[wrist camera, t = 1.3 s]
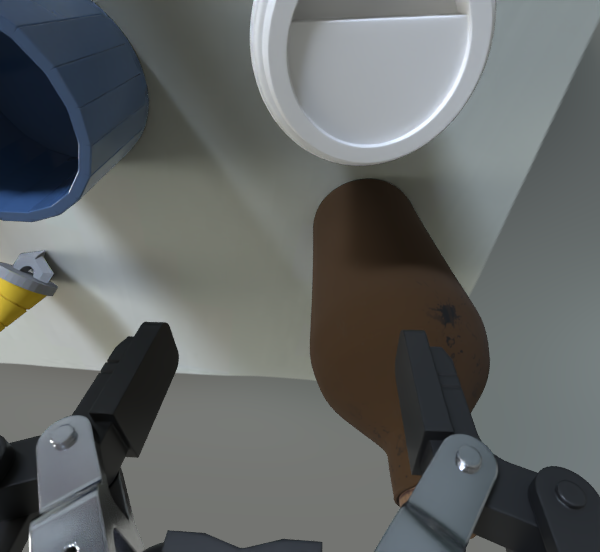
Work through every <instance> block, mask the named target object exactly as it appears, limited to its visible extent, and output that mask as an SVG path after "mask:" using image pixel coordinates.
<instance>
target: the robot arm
mask: <svg viewBox="0 0 600 552" xmlns="http://www.w3.org/2000/svg"><path fill="white" fill-rule="evenodd" d="M178 361H179V354H178V350H177V347H176V344H175V341H174V338H173V335H172V332H171V329H170V327H169V325H168V323H165V322H144V323H143V324H142V325H141V326H140V328H139V329H138V331H137V333H136V334H135V336H134V337H130V336H128V337H127V338H126V339H125V340H124V341H122V342H121V343H120V344H119V345H118V346H117V347H115V349H114V351H113V352H112V354H111V355H110V357H109V358H108V360H107V363H105V365H104V366H103V368H102V369H101V373H99V374H98V376H97V377H96V379H95V380H94V382H93V384H92V385H91V387H90V388H89V390H88V391H87V393H86V394H85V396H84V397H83V399H82V400H81V402H80V404H79V405H78V407H77V408H76V410H75V411H74V413H73V414H72V415H71V416H67V417H65V418H63V419H60V420H58V421H56V422H55V423H53V424H52V425H51V426H50V427H48V428H47V429H46V430H45V432H44V433H43V434H42V435H41V436H36V437H33V438H28V439H24V440H20V441H16V442H12V443H8V442H7V441H6V440H5V438H4V437H2V436H0V552H22V550H23V548H24V546H25V544H26V542H27V540H28V538H29V552H322V542H315V541H302V540H288V539H281V540H277V541H273V542H269V543H264V544H260V545H256V546H252V547H247V548H238V547H236V546H234V545H231V544H229V543H227V542H224V541H222V540H219V539H217V538H215V537H212V536H210V535H208V534H206V533H196V532H183V531H169V530H168V532H167V534H166V538H165V541H164V542H163V543H159V544H157V545H154V546H152V547H149V548H148V549H146V550H145V548H144V545H143V542H142V540H141V537H140V535H139V533H138V531H137V528H136V525H135V522H134V518H133V514H132V510H131V506H130V501H129V497H128V493H127V489H126V485H125V481H124V477H123V473H122V470H121V468H120V467H121V465H122V462H123V460H124V458H125V457H139V455H140V453H141V450H142V448H143V446H144V443H145V441H146V439H147V437H148V434H149V432H150V430H151V427H152V425H153V422H154V420H155V418H156V416H157V413H158V411H159V409H160V406H161V404H162V402H163V400H164V397H165V395H166V393H167V390H168V388H169V386H170V383H171V381H172V379H173V377H174V374H175V372H176V370H177V367H178ZM395 378H396V384H397V390H398V396H399V402H400V408H401V414H402V420H403V426H404V432H405V438H406V444H407V450H408V456H409V462H410V468H411V474H412V475H422V477H421V479H420V480H419V482H418V484H417V486H416V487H415V489H414V491H413V492H412V494H411V496H410V497H409V499H408V500H407V502H405V503H404V504H403V505H402V506H401V508H400V509H399V511H398V512H397V514H396V516H395V517H394V519H393V521H392V522H391V524H390V525H389V527H388V529H387V531H386V532H385V534H384V536H383V537H382V539H381V541H380V542H379V544H378V546H377V547H376V549H375V551H374V552H466V547H467V544H468V542H469V539H470V537H471V535H472V533H473V534H475V535H478V536H480V537H482V538H485V539H487V540H490V541H492V542H494V543H496V544H499V545H501V546H503V547H506V551H507V552H600V497H599V495H598V494H597V492H596V491H595V490H594V488H593V487H592V486H591V485H590V484H589V483H588V482H587V481H586V480H584V479H583V478H582V477H581V476H579V475H578V474H576V473H574V472H572V471H570V470H568V469H565V468H562V467H557V466H550V467H546V468H543V469H542V470H540V471H539V473H537V472H534V471H531V470H528V469H525V468H522V467H520V466H517V465H514V464H511V463H509V462H506V461H504V460H502V459H501V458H499V457H497V456H496V455H494V454H493V453H492V452H491V450H490V449H489V448H488V447H487V446H486V445H485V444H484V443H482V441H481V440H480V438H479V436H478V434H477V431H476V428H475V425H474V422H473V419H472V417H471V413H470V410H469V407H468V404H467V401H466V398H465V395H464V392H463V390H462V389H461V384H460V381H459V378H458V377H457V372H456V369H455V366H454V363H453V360H452V358H451V357H450V356H449V355H448V354H447V353H446V351H445V350H444V349H443V348H442V347H430V345H429V341H428V338H427V334H426V332H425V331H424V330H401V332H400V336H399V342H398V348H397V353H396V359H395Z"/></svg>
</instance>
